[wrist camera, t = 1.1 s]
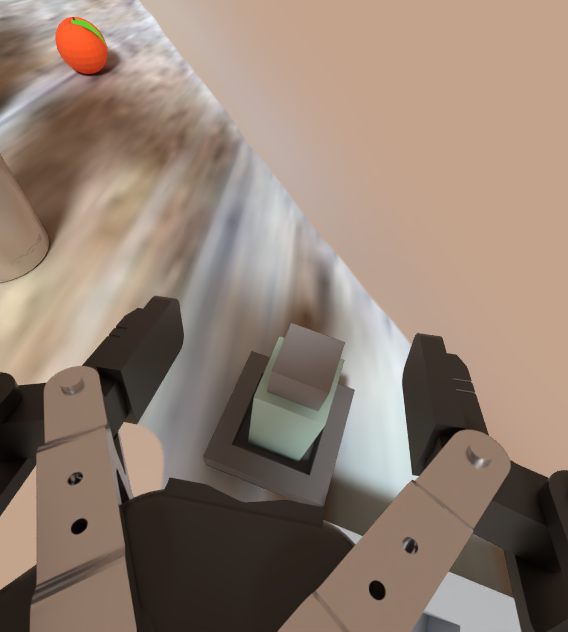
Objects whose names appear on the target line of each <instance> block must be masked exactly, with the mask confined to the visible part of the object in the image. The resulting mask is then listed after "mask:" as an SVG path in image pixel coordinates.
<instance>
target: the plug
mask: <svg viewBox="0 0 568 632" xmlns="http://www.w3.org/2000/svg"><path fill="white" fill-rule="evenodd" d="M344 344H345V342H343V341H340V340H337V339H334V338H332V337H329V336H326V335H323V334H321V333H318V332H315V331H312V330H310V329H307V328H304V327H301V326H299V325H296V324H293V323H291V324H290V327H289V329H288V332H287V334H286V337H285V338H283V337H281V336H279V338H278V341H277V343H276V345H275V348H274V350H273V353H272V355H271V357H270V360H269V362H268V364H267V367H266V369H265V372H264V374H263V376H262V379H261V381H260V383H259V386H258V388H257V391H256V393H255V395H254V399H253V407H252V415H251V422H250V430H249V438H248V443H249V444H252V445H254V446H257V447H259V448H262V449H264V450H267V451H269V452H272V453H274V454H277V455H279V456H282V457H284V458H287V459H289V460H292V461H294V462H297V463H298V462H299V460H300V459H301V458H302V456H303V455H304V454H305V452H306V451H307V450H308V448H309V447H310V445H311V444H312V443H313V441H314V440H315V439H316V437H317V436H318V434H319V433H320V432H321V430H322V429H323V428H324V426H325V424H326V421H327V418H328V414H329V411H330V408H331V404H332V401H333V397H334V394H335V391H336V387H337V384H338V380H339V377H340V374H341V370H342V367H343V363H344V360H343V359H340V357H341V354H342V350H343V347H344Z"/></svg>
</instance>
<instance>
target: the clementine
mask: <svg viewBox="0 0 568 632" xmlns="http://www.w3.org/2000/svg"><path fill="white" fill-rule="evenodd" d="M56 45H57V49H58V51H59V53H60V55H61V57H62V58H63V59H64V61H65V62H66V63H67V64H68V65H69V66H70V67H72V68H73V69H74V70H76V71H79V72H81V73H84V74H93V73H96V72H98V71H100V70H101V69H102V68H103V67H104V65H105V63H106V61H107V55H108V52H107V46H106V42H105V40H104V37H103V36H102V34H101V33H100V31H99V30H98V29H97V28H96V27H95V26H94V25H93V24H92V23H90V22H88V21H87V20H85V19H83V18H79V17H70V18H67V19H65V20H63V21H62V22H61V23H60V24H59V26H58V28H57V31H56Z"/></svg>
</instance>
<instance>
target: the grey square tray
mask: <svg viewBox="0 0 568 632" xmlns="http://www.w3.org/2000/svg"><path fill="white" fill-rule="evenodd" d="M269 360H270V358H269V357H266V356H263V355H261V354H258V353H255V352H253V351H252V352H251V354H250V356H249V358H248V360H247V363H246V365H245V367H244V369H243V371H242V374H241V376H240V378H239V380H238V382H237V384H236V387H235V389H234V391H233V393H232V395H231V398H230V400H229V402H228V404H227V406H226V409H225V411H224V413H223V415H222V417H221V419H220V422H219V424H218V426H217V428H216V430H215V433H214V435H213V437H212V439H211V441H210V443H209V446H208V448H207V450H206V452H205V454H204V460H205V463H206V465H208V466H211V467H213V468H216V469H218V470H221V471H223V472H225V473H228V474H230V475H233V476H235V477H238V478H240V479H243V480H245V481H247V482H250V483H252V484H255V485H257V486H260V487H262V488H265V489H267V490H269V491H272V492H274V493H277V494H279V495H282V496H284V497H287V498H289V499H291V500H294V501H296V502H299V503H304V504H309V505H314V506H319V507H323V506H324V504H325V500H326V496H327V493H328V489H329V485H330V481H331V478H332V474H333V470H334V466H335V462H336V459H337V455H338V451H339V447H340V443H341V440H342V436H343V432H344V428H345V425H346V421H347V417H348V413H349V409H350V406H351V402H352V398H353V394H354V389H351V388H349V387H346V386H343V385H341V384H337V387H336V391H335V394H334V397H333V401H332V404H331V408H330V411H329V414H328V418H327V421H326V424H325V426H324V428H323V429H322V430H321V432H320V433H319V434H318V436H317V437H316V439H315V440H314V441H313V443H312V444H311V445H310V447H309V448H308V450H307V451H306V452H305V454H304V455H303V456H302V458H301V459H300V460H299V462H298V463H297V462H294V461H292V460H289V459H287V458H284V457H282V456H279V455H277V454H274V453H272V452H269V451H267V450H264V449H262V448H259V447H257V446H254V445H252V444H249V443H248V438H249V430H250V422H251V415H252V407H253V399H254V395H255V393H256V391H257V388H258V386H259V383H260V381H261V379H262V376H263V374H264V372H265V369H266V367H267V364H268V362H269Z"/></svg>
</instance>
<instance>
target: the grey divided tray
mask: <svg viewBox="0 0 568 632" xmlns="http://www.w3.org/2000/svg"><path fill="white" fill-rule="evenodd" d="M331 524H332V523H331ZM333 525H334V524H333ZM334 526H336V527H337V528H339V529H340V530H341V531H342V532H344V533H345V534H346V535H347V536H348V537H349V538H350V539H351V540H352V541H353V542H354V543H355V544H357V543H358V541H359V540H360V539H361V538H362V537H363V536H361V535H359V534H356V533H354V532H351V531H349V530H346V529H344V528H342V527H339V526H337V525H334ZM411 632H521V628H520V624H519V619H518V615H517V610H516V605H515V601H514V598H512V597H509V596H507V595H505V594H502V593H500V592H497V591H495V590H492V589H490V588H487V587H485V586H483V585H480V584H478V583H475V582H473V581H470V580H468V579H466V578H463V577H461V576H458V575H456V574H453V573H451V572H449V571H448V573H447V575H446V576H445V578H444V579H443V581H442V583H441V584H440V586H439V587H438V589H437V591H436V592H435V594H434V595H433V597H432V599H431V600H430V602H429V603H428V605H427V607H426V608H425V610H424V611H423V613H422V615H421V616H420V618H419V619H418V621H417V623H416V624H415V626H414V627H413V629H412V631H411Z"/></svg>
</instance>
